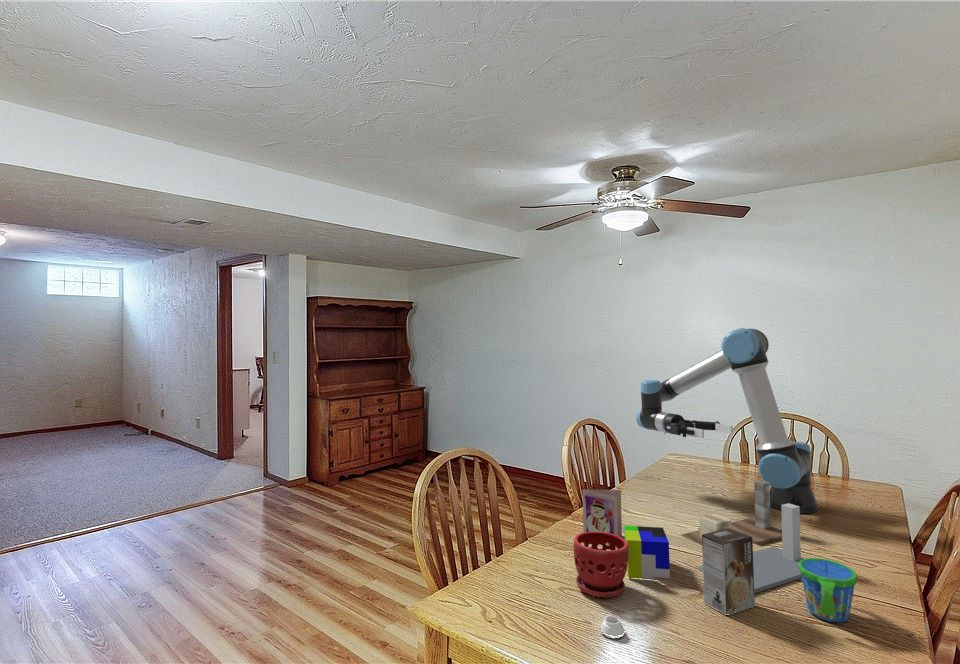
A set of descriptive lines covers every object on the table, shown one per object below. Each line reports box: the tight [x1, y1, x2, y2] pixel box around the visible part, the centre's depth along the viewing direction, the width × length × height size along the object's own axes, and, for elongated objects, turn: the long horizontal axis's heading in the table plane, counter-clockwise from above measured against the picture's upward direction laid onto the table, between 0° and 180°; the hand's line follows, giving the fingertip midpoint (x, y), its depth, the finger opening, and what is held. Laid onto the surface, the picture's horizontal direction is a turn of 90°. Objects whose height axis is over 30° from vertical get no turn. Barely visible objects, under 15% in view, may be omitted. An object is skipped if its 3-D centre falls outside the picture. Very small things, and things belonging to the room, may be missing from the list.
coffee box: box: [701, 528, 756, 615], centre depth 115 cm, size 9×6×16 cm
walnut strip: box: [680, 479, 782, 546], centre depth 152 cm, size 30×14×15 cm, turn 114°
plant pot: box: [573, 532, 629, 598], centre depth 124 cm, size 13×13×12 cm
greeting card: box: [582, 488, 623, 537], centre depth 152 cm, size 11×7×15 cm, turn 47°
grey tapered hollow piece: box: [600, 615, 626, 636], centre depth 105 cm, size 5×3×5 cm
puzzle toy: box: [624, 525, 671, 580], centre depth 132 cm, size 10×10×10 cm
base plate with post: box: [695, 503, 805, 594], centre depth 131 cm, size 30×14×15 cm, turn 114°
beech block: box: [699, 513, 732, 538], centre depth 149 cm, size 6×6×6 cm
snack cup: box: [799, 557, 858, 623], centre depth 110 cm, size 16×10×10 cm
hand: (717, 432), depth 171 cm, fingers open, 13 cm apart
